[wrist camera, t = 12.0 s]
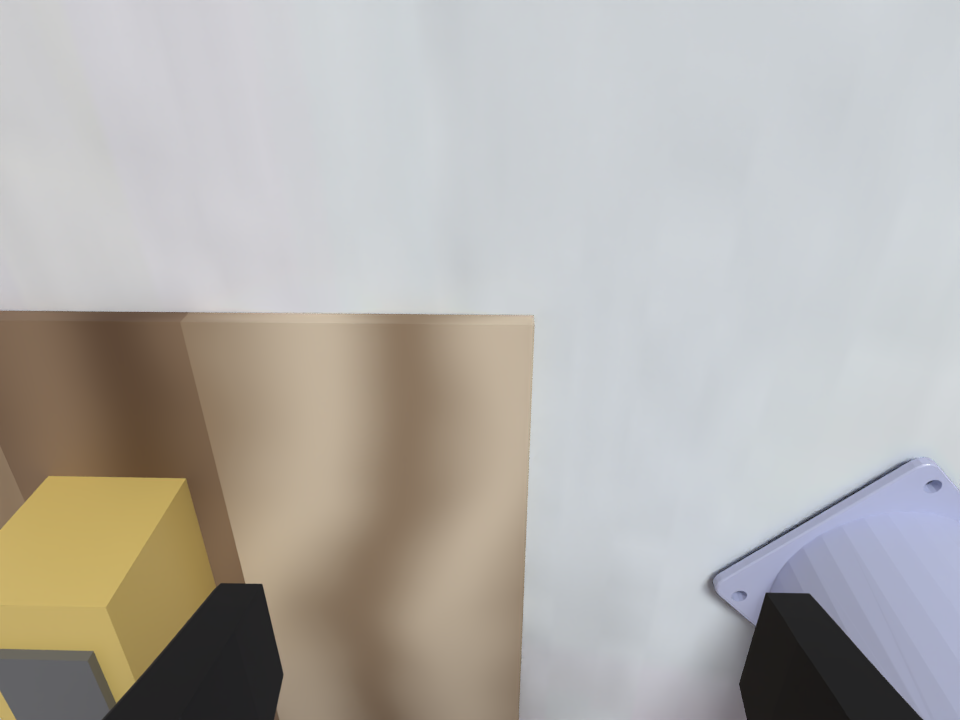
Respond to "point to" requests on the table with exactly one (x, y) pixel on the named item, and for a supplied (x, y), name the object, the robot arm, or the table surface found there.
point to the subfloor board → (313, 480)
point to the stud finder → (94, 591)
